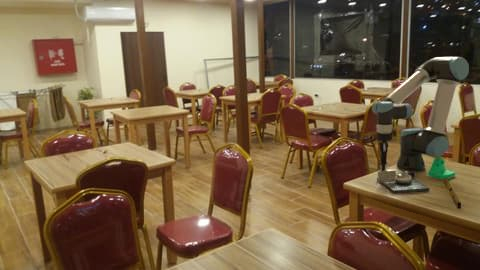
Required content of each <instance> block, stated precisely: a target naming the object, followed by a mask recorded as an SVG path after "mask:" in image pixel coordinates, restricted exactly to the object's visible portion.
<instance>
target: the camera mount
mask: <svg viewBox="0 0 480 270" xmlns="http://www.w3.org/2000/svg"><path fill="white" fill-rule="evenodd" d="M445 162H446V160H445V158H441V157H434V160H433V162H432V164H431V166H430V169H429V171H428V172H427V175H428V177H432V178H436V179H439V180H444V178H447V180H449V179H452V177H456V172H455V171H453V170H449V169H446V167H445Z"/></svg>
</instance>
